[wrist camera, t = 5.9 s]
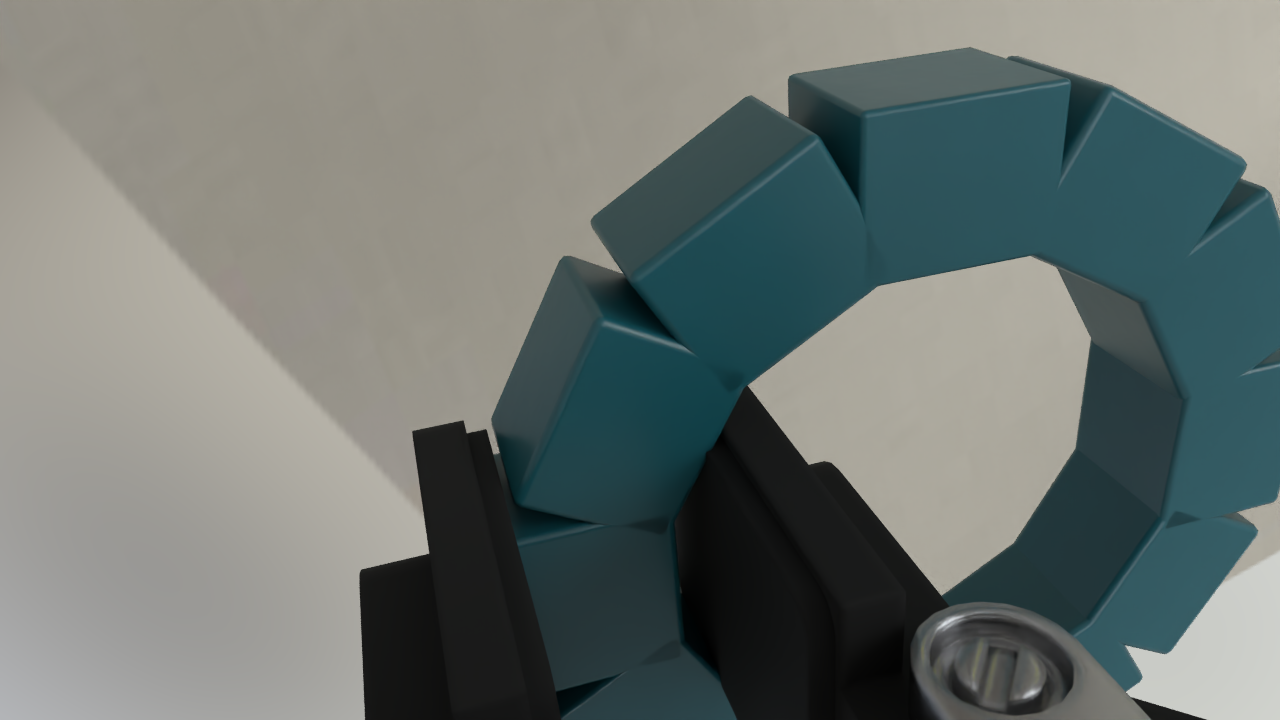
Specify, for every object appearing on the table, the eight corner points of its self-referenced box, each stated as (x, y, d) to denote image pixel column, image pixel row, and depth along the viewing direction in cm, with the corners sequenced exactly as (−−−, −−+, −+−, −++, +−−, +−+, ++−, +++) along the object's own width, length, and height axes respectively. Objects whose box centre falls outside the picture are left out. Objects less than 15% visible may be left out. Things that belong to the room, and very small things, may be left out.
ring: (548, 802, 13) (574, 914, 12) (422, 129, 9) (439, 181, 8) (1140, 632, 15) (1224, 713, 13) (1266, 1, 11) (1405, 23, 9)
